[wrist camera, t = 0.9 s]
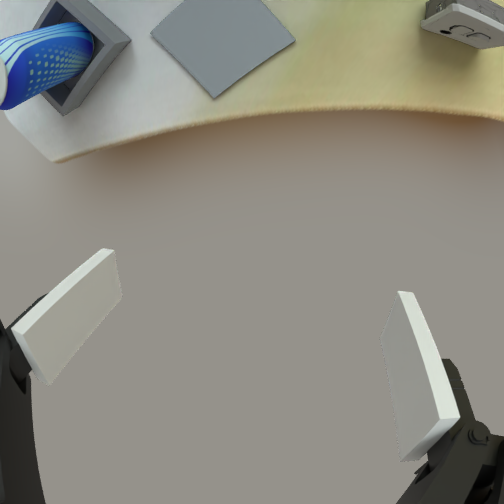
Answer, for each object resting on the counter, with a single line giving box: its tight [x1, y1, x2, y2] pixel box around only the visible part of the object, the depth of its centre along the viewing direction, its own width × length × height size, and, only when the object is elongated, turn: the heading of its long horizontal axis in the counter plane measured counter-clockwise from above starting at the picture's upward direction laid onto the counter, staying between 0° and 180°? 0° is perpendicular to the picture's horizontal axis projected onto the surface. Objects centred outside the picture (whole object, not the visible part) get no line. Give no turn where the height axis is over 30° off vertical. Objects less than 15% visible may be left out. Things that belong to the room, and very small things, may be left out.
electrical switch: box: [420, 0, 504, 49], centre depth 17 cm, size 9×5×9 cm, turn 92°
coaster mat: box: [150, 0, 295, 98], centre depth 27 cm, size 12×12×1 cm
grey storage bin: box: [33, 0, 131, 116], centre depth 26 cm, size 13×13×4 cm
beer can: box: [0, 22, 94, 110], centre depth 22 cm, size 8×8×16 cm
